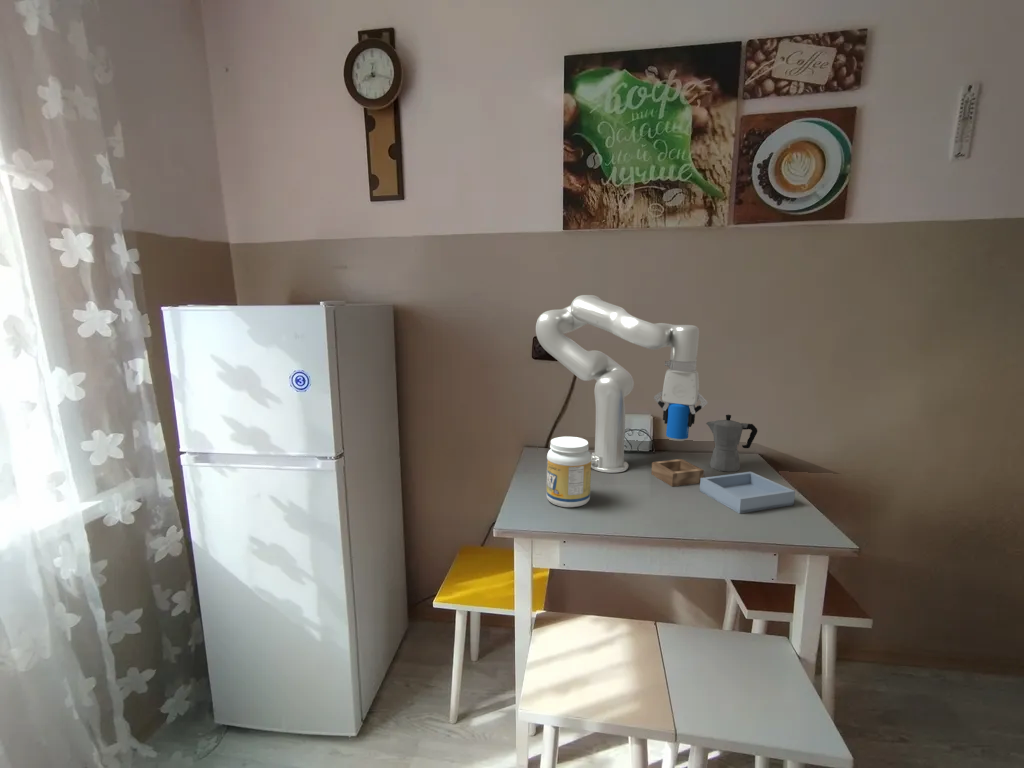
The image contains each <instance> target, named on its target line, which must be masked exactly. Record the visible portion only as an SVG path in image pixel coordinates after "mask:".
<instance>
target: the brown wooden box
mask: <svg viewBox="0 0 1024 768" xmlns="http://www.w3.org/2000/svg"><path fill="white" fill-rule="evenodd" d="M653 475H654V476H653ZM704 475H705V470H704V469H703V468H701V467H699V466H697V465H694V464H692V463H691V462H688V461H687V460H685V459H683V458H678V459H669V460H662V461H653V462H652V461H651V476H653V477H654V478H657V479H659V480H660V481H662V482H664V483H665V484H666V485H669V486H670V487H679V486H680V485H681V486H686V485H687V486H688V485H695V484H700V479H701V478H704Z"/></svg>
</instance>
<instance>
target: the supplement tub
mask: <svg viewBox="0 0 1024 768" xmlns="http://www.w3.org/2000/svg"><path fill="white" fill-rule="evenodd" d="M589 447H590V446H589V442H588V440H587V439H584V438H583V437H577V436H559V437H554V438H552V439H551V440H550V446H549V448H550V449H548V452H547V453H546V454H547V455H546V492H545V493H546V494H545V495H546V499H547V500H548V502H550V503H551V504H553V505H555V506H557V507H562V508H576V507H582V506H584V505H586V504H587V503H588V502H589V501H590V498H591V483H592V482H591V481H592V480H591V479H592V478H591V476H592V468H591V459H592V458H591V455H592V453H591V451H589Z"/></svg>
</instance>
